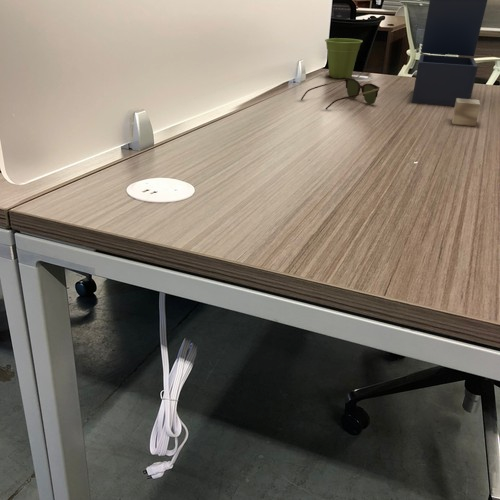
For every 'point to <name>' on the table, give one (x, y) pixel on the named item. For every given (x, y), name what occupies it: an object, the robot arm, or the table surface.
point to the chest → (444, 79)
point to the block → (466, 112)
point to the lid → (453, 27)
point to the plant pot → (342, 56)
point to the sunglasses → (355, 90)
